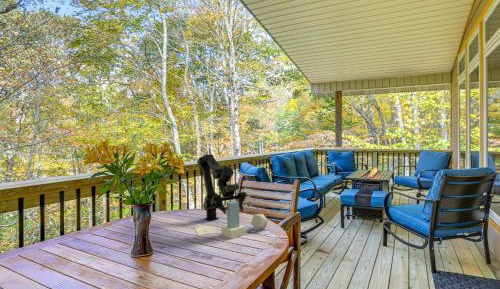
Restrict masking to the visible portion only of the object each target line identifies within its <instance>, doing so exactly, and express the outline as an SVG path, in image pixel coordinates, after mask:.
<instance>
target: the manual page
mask: <svg viewBox="0 0 500 289" xmlns="http://www.w3.org/2000/svg"><path fill="white" fill-rule="evenodd" d="M194 230H195V232H196V234H197V236H206V235H210V234H211V235H212V234H216V233H217V232H216V231H215V230H214V228H213V227H212V226H211V225H209V226H201V227H195V228H194Z"/></svg>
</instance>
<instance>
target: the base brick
mask: <svg viewBox="0 0 500 289" xmlns="http://www.w3.org/2000/svg"><path fill="white" fill-rule="evenodd" d="M239 225H240V227H236V228H229V227H228V226H227V224H226V225H221V227H220V228H221V230H220V231H221V235H222V236H224V237H227V238H229V239H231V240H232V239H236V238H239V237H241V236H245V235H247V226H245V225H243V224H240V223H239Z"/></svg>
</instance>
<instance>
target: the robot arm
mask: <svg viewBox="0 0 500 289" xmlns="http://www.w3.org/2000/svg"><path fill="white" fill-rule="evenodd" d="M196 163H197V165H198V168H199V170H200V171H201V172H202V177H203V182H204V183H203V184H204V188H205V192H206V195H205V196H204V201H203V204H202V209H203V210H204V211H206V212H205V213H206V217H204V220H207V221H209V222H211V221H215V220H219V219H220V218H219V217H217V216H218V215H217V210H220V211H221V212H222V213H223V214H224V215H227V209H226V208H225V206H224V202H228V201H237V202H239V211H241V212H243V211H244V204H243V203H244V201H245V200H246V198H247V196H248V194H247V192H246V191H240V192H238V193H237V195H235V194H236V191H238V190H239V189H240V185H239V182H235V183H234V184H230V181H231V180H232V178H233V175H234V172H235V171H234V170H233V168H231V167H229V166H228V165H225V166H222V165H220V164H219V163H218V161H217V160H216V159H215V157H214V155H213V154H204V155H203V156H200V157H198V158H197V161H196ZM211 171H212V173H211ZM212 177H213V179H214V180H217V183H216V186H217V187H219V190H220V192H219V193H220V194H218V193H216V192H215V191H214V190H215V189H214V184H213V180H212ZM221 195H222V196H221Z"/></svg>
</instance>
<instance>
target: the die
mask: <svg viewBox="0 0 500 289" xmlns="http://www.w3.org/2000/svg"><path fill="white" fill-rule="evenodd" d="M268 222H269V220H268V219H267V218H266V216H265V215H264V213H259V214H258V213H257V214H253V216H252V219H251V221H250V224H251V225H252V227H253V228H254V230H255V231H262V230H263V231H264V230H266V228H267V224H268Z"/></svg>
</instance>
